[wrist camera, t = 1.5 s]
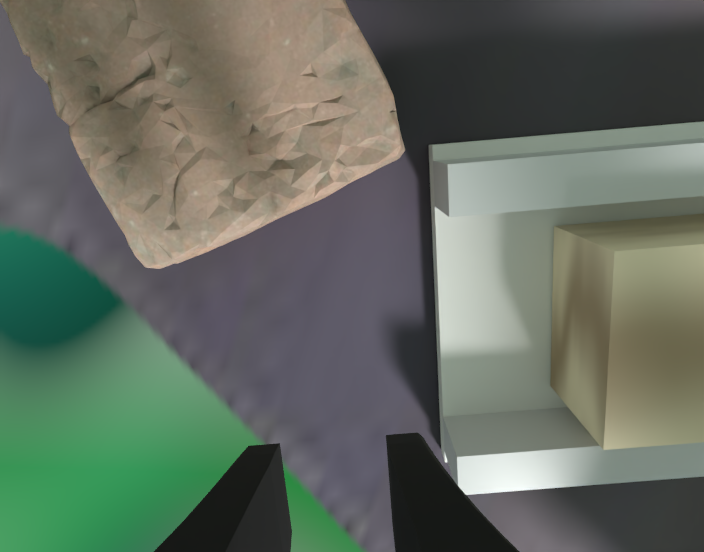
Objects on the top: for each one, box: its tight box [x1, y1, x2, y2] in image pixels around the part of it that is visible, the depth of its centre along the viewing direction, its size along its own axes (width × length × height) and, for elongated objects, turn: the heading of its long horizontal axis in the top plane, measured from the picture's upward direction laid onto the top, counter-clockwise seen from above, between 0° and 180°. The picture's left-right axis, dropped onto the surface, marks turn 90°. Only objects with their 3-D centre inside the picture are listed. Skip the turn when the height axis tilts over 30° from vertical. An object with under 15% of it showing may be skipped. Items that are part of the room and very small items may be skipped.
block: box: [550, 214, 704, 450], centre depth 16 cm, size 6×8×4 cm
